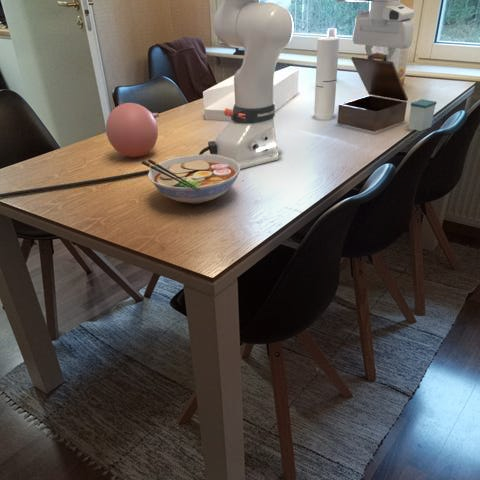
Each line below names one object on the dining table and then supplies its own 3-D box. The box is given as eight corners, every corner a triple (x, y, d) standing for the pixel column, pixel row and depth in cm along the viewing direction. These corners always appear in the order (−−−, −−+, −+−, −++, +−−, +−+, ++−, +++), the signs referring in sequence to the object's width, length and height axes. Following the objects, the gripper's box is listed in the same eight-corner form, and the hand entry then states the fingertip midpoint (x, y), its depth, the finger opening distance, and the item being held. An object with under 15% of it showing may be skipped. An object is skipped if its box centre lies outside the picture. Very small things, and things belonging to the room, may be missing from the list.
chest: (374, 134, 158) (377, 112, 154) (337, 125, 168) (338, 104, 164) (404, 122, 167) (407, 101, 163) (366, 115, 176) (369, 95, 172)
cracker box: (394, 82, 215) (401, 27, 203) (404, 84, 211) (412, 28, 199) (370, 87, 210) (376, 31, 197) (380, 89, 206) (387, 32, 193)
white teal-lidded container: (420, 133, 157) (425, 105, 151) (406, 130, 160) (410, 103, 155) (431, 129, 160) (436, 101, 155) (417, 126, 163) (422, 99, 158)
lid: (391, 64, 149) (399, 51, 148) (351, 58, 158) (358, 46, 158) (406, 101, 162) (414, 89, 162) (368, 94, 172) (375, 83, 172)
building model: (249, 91, 215) (249, 67, 209) (297, 93, 207) (298, 68, 201) (205, 119, 182) (202, 91, 176) (260, 122, 175) (259, 94, 169)
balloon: (181, 148, 156) (175, 97, 147) (135, 167, 144) (126, 113, 134) (147, 141, 164) (139, 92, 154) (101, 159, 151) (90, 106, 142)
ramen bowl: (262, 201, 120) (262, 168, 115) (182, 228, 110) (178, 194, 105) (208, 173, 137) (206, 144, 132) (135, 195, 127) (129, 164, 122)
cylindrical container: (333, 120, 173) (338, 40, 158) (313, 119, 175) (316, 40, 159) (334, 114, 179) (339, 36, 164) (314, 114, 180) (318, 37, 165)
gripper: (350, 11, 152) (346, 60, 161) (406, 14, 140) (399, 67, 148) (362, 8, 156) (358, 57, 164) (419, 11, 143) (411, 63, 151)
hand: (378, 62), depth 156 cm, fingers closed on lid, 5 cm apart
